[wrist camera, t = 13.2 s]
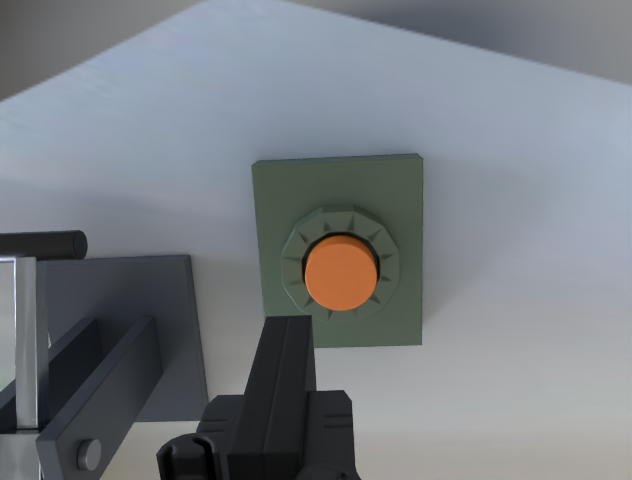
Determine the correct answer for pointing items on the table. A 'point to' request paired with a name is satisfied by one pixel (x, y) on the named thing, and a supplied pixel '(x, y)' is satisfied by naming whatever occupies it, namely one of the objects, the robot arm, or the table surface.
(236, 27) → the table surface
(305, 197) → the stop box
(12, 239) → the switch lever
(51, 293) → the switch bracket
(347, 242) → the stop button
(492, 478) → the table surface
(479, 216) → the table surface
